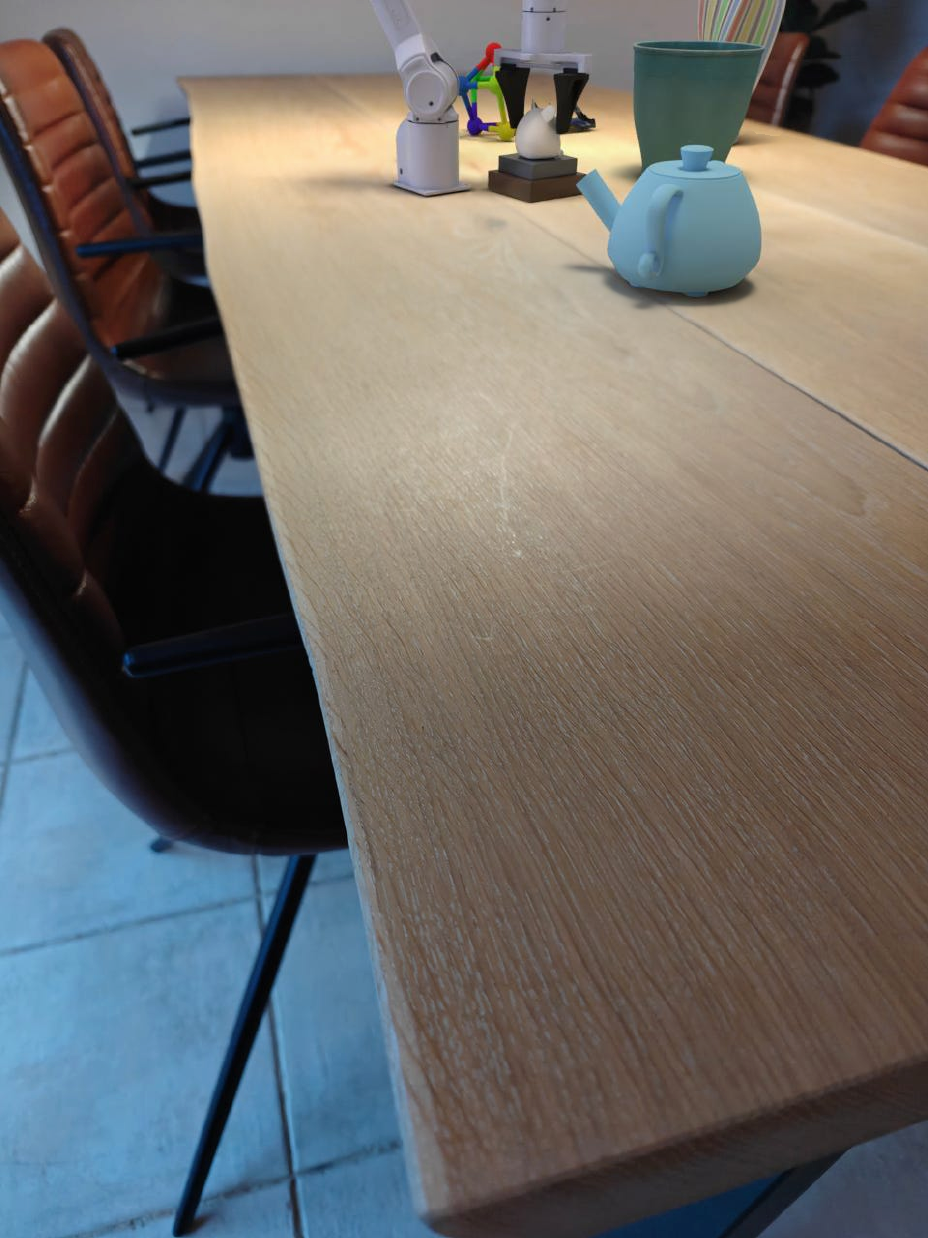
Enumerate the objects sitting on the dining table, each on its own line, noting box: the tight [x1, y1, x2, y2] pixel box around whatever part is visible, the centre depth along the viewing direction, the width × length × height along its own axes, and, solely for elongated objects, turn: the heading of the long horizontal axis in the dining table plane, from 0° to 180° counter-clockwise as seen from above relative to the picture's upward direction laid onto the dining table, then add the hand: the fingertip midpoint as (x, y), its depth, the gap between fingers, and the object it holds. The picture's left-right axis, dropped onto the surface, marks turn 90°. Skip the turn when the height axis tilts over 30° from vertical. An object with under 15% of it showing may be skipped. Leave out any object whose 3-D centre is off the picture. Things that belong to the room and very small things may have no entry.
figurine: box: [514, 99, 565, 159], centre depth 121 cm, size 8×6×7 cm
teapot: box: [576, 145, 762, 298], centre depth 89 cm, size 20×20×13 cm
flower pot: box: [632, 39, 765, 175], centre depth 128 cm, size 18×18×17 cm
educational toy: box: [458, 41, 517, 142], centre depth 158 cm, size 16×13×15 cm
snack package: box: [531, 99, 597, 133], centre depth 168 cm, size 12×6×12 cm
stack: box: [487, 152, 588, 203], centre depth 125 cm, size 10×10×4 cm
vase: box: [696, 0, 787, 144], centre depth 147 cm, size 14×14×30 cm
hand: (539, 130), depth 121 cm, fingers open, 7 cm apart
